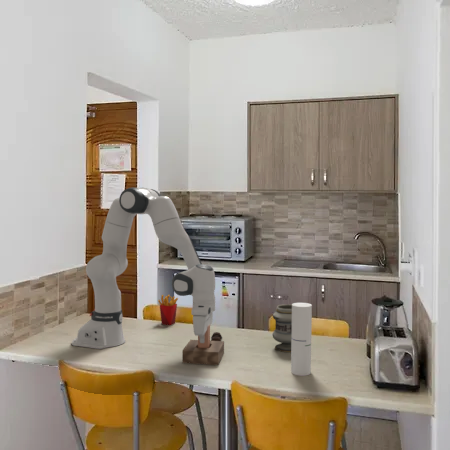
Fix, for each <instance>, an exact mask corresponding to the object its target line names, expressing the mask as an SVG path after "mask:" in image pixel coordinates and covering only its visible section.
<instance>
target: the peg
mask: <svg viewBox="0 0 450 450" xmlns="http://www.w3.org/2000/svg"><path fill="white" fill-rule="evenodd" d="M197 340H198V348H210V341H211V325H209V326H208V327H207V331H206V332H205V342H204V343H200V337H199V336H197Z"/></svg>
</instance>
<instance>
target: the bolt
mask: <svg viewBox="0 0 450 450" xmlns="http://www.w3.org/2000/svg"><path fill="white" fill-rule="evenodd" d="M210 341H223V335H222V334H221V333H220V332H219V331H218V332H216V331H215V332H213V333H212V334H211V336H210Z"/></svg>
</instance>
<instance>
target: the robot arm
mask: <svg viewBox="0 0 450 450" xmlns="http://www.w3.org/2000/svg"><path fill="white" fill-rule="evenodd" d="M136 215H148V216H149V217H150V219H151V222H152V226H153V229H154V232H155V234H156V236H157V238H158V240H159V241H160V242H162V243H163V244H165V245H168V246H171V247H173V248H175V249H177V251H179V253H180V255H181V256H182V258H183V260H184V263H185V265H186V268H187V269H186V270H184V271H180V272H178V273H176V274H174V276H173V277H172V279H171V288H172V290H173V292H174V293H175V295H177V296H180V297H187V296H192V308H191V315H192V325H193V334H194V335H195V336H196V337H198V336H199V337H200V343H204V342H205V332H206V331H207V327H208V326H209V325H210V326H211V325H212V324H213V321H214V319H213V315H214V314H213V312H215V311H216V296H215V291H216V275H215V271H214V268H213V267H212V266H211V265H208V264H203V263H202V261H201V259H200V256H199V254H198V252H197V250H196V247H195V245H194V242H193V241H192V239H191V237H190V235H188V233H187V232H186V230H185V228H184V227H183V224H182V222H181V218H180V216H179V213H178V210H177V209H176V206H175V204H174V202H173V201H172V198H170V197H168V196H165V195H162V194H161V193H160V192H158V191H157V190H155V189H152V188H147V187H128V188H126V189H124V190H123V191H122V192H121V193H120V195H119V197H117V198H115V199H114V200H113V201H112V203H111V205H110V208H109V210H108V212H107V216H106V218H105V221H104V226H103V230H102V235H101V240H102V244H103V247H102V254H99V255H96V256H93V258H91V259H90V260H89V261H88V262H87V264H86V265H85V273H86V276H87V277H88V278H89V280H90V281H91V283H92V288H93V292H94V293H93V294H94V309H93V311H91V312H90V313H89V317H90V319H89V320H88V321H86V323H84V324H83V325H82V326H81V327H79V328H78V332H77V337H75V338H74V339H72V341H71V345H72V346H77V347H84V348H92V349H98V350H100V349H107V348H111V347H117V346H119V345H123V344H124V343H126V339H125V336H124V331H123V309H122V292H121V290H120V289H119V286H118V283H117V277H118V276H120V275H122V274H123V273H124V272H125V271H126V270H127V268H128V264H129V262H128V261H129V260H128V257H127V250H128V249H127V247H128V242H129V239H130V234H131V230H132V226H133V221H134V218H135V217H136Z"/></svg>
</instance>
